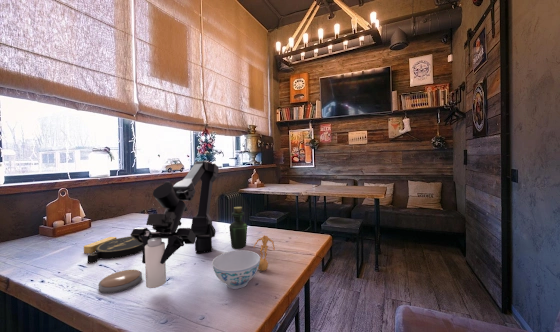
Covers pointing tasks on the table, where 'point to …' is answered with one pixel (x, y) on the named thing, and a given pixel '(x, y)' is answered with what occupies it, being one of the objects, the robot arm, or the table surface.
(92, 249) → the decorative sign
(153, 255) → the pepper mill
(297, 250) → the table surface
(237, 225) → the potion bottle
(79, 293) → the table surface
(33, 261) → the table surface
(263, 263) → the figurine
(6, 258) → the table surface
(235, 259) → the chinaware
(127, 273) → the display plinth
